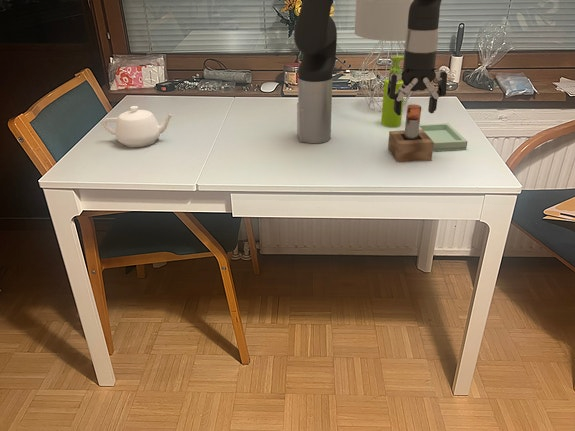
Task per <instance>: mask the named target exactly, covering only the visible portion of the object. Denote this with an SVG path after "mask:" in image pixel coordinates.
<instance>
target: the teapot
mask: <svg viewBox="0 0 575 431" xmlns="http://www.w3.org/2000/svg"><path fill="white" fill-rule="evenodd" d="M129 109H130V110H128V111H124V112H122V113H120V114H119V115H118V116H117V117H108V118H104V119H103V120H102V121H101V126H102V127H103V128H104V130H105V131H107V132H108V133H109V134H111V135H115V138H116V140H117V141H118V142H119V143H121V144H123V145H124V146H126V147H127V148H128V147H129V148H141V147H148V146H150V145H152V144H154V143H155V142H156V141H157V140H158V138H159V137H160V135H162V134H163V133H164V132H165V131H166V129H167V128H168V126H169V122H170V119H171V118H172V117H174V114H171V113H169V114H167V115H166V117H165V118H164V122H163V123H162V124H161V125H159V122H158V120H157V118H156V116H155V115H154V114H153V113H152V112H151V111H149V110H147V109H146V110H145V109H139V106H137V105H132V106H130V108H129ZM108 122H115V129H113V128H111V127H110V126H109V125H108Z"/></svg>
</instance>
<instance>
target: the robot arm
mask: <svg viewBox="0 0 575 431" xmlns="http://www.w3.org/2000/svg"><path fill="white" fill-rule="evenodd" d="M442 1H443V0H413V2H412V3H411V5H410V8H409V14H408V28H407V33H406V38H405V41H404V43H403V44H404V46H403V48H404V47H405V48H404V49H403V50H404V52H403V56H404V60H403V65H402V66H403V67H402V69H403V70H402V73H401V74H394V73H393V72H392V73H390V75H389V74H388V75H389V76H388V77H389V83H388V91H387V95H388V97H389V98H390V99H394V112H395V113H396V114H397V115H401V105H402V101H401V99H402V98H403V97H404V98H405V96H407V95H408V93H409V91H410V90H411V91H410V92H412V91H413V92H417V91H425V90H427V92H428V93H429V94H430V97H429V98H428V99H429V100H428V113H429V114H434V113H435V111H436V110H437V106H438V99H439V98H441V97H445V96H446V95H447V84H448V73H447V72H446V71H445V70H443V69H440V70H439V71H435V68H436V62H437V61H436V60H437V52H438V41H439V23H440V22H439V21H440V14H441V13H440V11H441V10H440V9H441V3H442ZM333 2H334V0H302V3H301V6H300V10H299V14H298V16H297V19H296V20H297V21H296V23H295V25H294V26H295V27H294V32H293V38H294V42H295V45H296V47H297V49H298V50H299V52H300V53H302V59H301V60H300V61H301V62H300V64H299V65H298V70H297V72H298V73H297V77H298V78H297V80H298V82H297V84H298V85H297V86H298V87H297V89H298V90H297V97H298V98H297V104H296V114H297V115H296V116H297V117H296V122H297V124H296V128H297V129H296V133H297V138H298V142H299V143H309V144H322V143H326V142H328V141H330V140H331V138H332V136H331V134H332V108H333V106H332V105H333V104H332V103H333V101H332V100H333V75H334V74H333V73H334V69H335V65H336V57H337V56H336V55H337V45H338V44H337V43H338V33H337V32H338V31H337V25H336V23H335V21H334V19H333V17H331V16H330V15H331V10H332V6H333ZM435 78H436V80H437V81H438V85H437V90H436V89H435V87H434V86H433V85H432V82H433V81H434V80H435ZM400 79H402V81H403V83H402V85H401V86H400V87H399V90H398V91H397V92H396V94H395V89H396V83H398V82H399V80H400ZM406 94H407V95H406ZM404 98H403V99H404Z"/></svg>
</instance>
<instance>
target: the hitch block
mask: <svg viewBox="0 0 575 431" xmlns="http://www.w3.org/2000/svg"><path fill="white" fill-rule="evenodd" d="M404 134H405V129H404V130H389V133H388V144H387V150H388V151H389V152H390V154H391V155H392V158H394V160H395V161H396V162H397V163H405V162H406V163H411V162H427V161H433V160H432V158H433V153H434V152H433V145H434V142H433V141H432V140H431V138H430V137H429V136H428V135H427V134H426V133H425V132H424V131H423V130H419V133H418V140H404Z"/></svg>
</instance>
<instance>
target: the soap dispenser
mask: <svg viewBox="0 0 575 431" xmlns="http://www.w3.org/2000/svg"><path fill="white" fill-rule="evenodd" d="M392 60H393V63H392V64H393V65H392V66H390V67H389V72H390V73H392V72H393V73H394V74H401V73H402V71H403V70H402V69H403V67H401V66H400V67H399V64H400V61H402V60H403V61H404V55H398V56H397V55H392ZM389 72H388V73H389ZM390 73H389V74H388V75H390ZM387 78H388V77H387ZM384 79H385V78H384ZM383 83H384V84H383V88H384V89H383V94H382V105H381V106H382V107H381V108H382V110H381V111H382V112H381V120H380V123H381V125H382V126H384V127H387V128H396V127H399V126H401V125H402V118H403V117H402V115H403V108H404V107H403V106H404V105H403V103H404V102H403V100H404V98H405V96H404V97H403V98H402V99H401V101H402V105H401V115H397V114H396V113H395V112H394V99H390V98H389V97H388V95H387V91H388V83H389V78H388V79H385V80H384V82H383ZM402 83H403V81H402V79H400V80H399V82H398V83H396V89H395V94H396V92H397V91H398V90H399V87H400V86H401V85H402Z"/></svg>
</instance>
